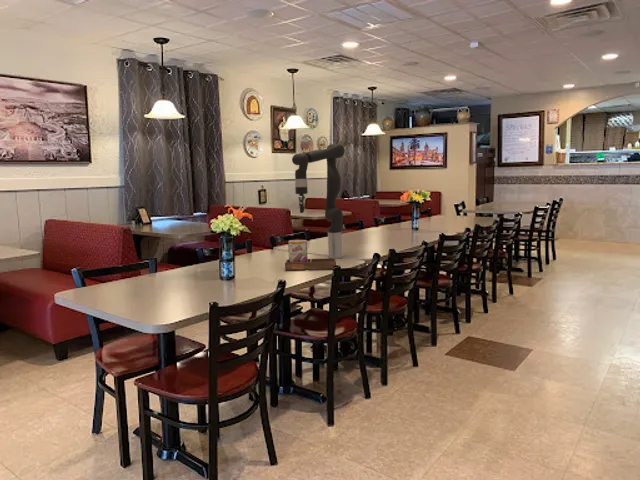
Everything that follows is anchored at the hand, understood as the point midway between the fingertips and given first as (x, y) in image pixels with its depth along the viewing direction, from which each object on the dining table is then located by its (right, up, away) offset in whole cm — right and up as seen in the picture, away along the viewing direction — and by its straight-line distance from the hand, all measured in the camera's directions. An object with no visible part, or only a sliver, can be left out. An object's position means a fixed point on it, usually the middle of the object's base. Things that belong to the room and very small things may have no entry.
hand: (302, 212), depth 314 cm
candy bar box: (-2, -34, -10) cm, 36 cm away
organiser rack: (+6, -35, -10) cm, 37 cm away
